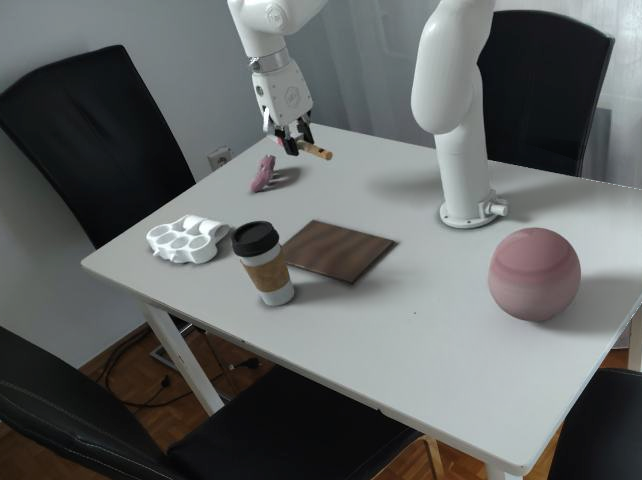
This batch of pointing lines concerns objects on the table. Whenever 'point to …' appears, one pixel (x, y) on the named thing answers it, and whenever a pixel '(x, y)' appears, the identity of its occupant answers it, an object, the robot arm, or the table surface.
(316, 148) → the white and tan bar
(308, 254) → the board
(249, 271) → the coffee cup
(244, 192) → the table surface
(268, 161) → the video game controller
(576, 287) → the pink ball
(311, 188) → the table surface
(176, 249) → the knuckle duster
